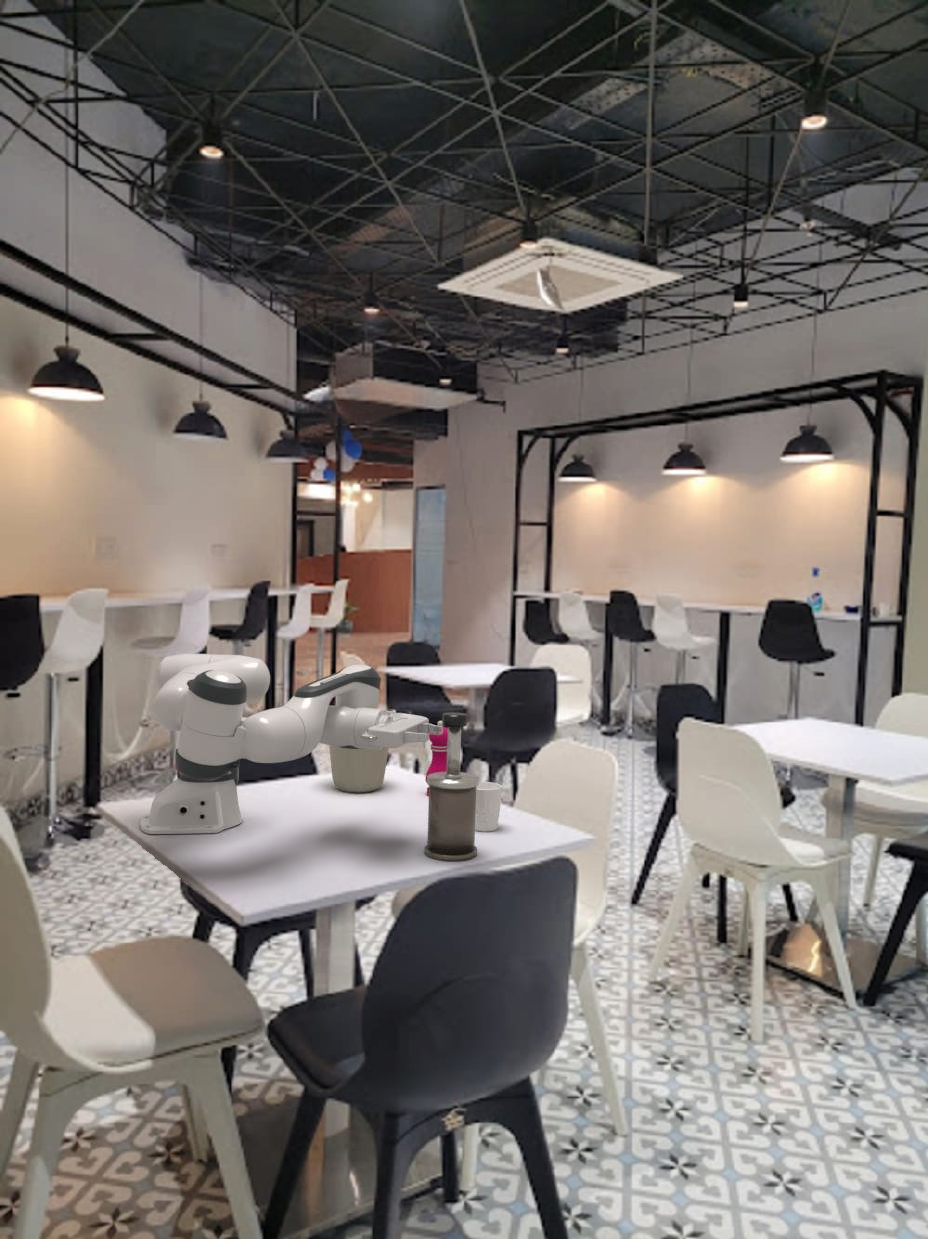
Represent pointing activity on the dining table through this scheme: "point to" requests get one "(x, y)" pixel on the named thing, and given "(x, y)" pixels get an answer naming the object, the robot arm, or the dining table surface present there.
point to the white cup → (487, 806)
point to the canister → (358, 768)
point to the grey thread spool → (451, 816)
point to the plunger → (454, 740)
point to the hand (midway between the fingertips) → (435, 734)
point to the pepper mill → (438, 752)
